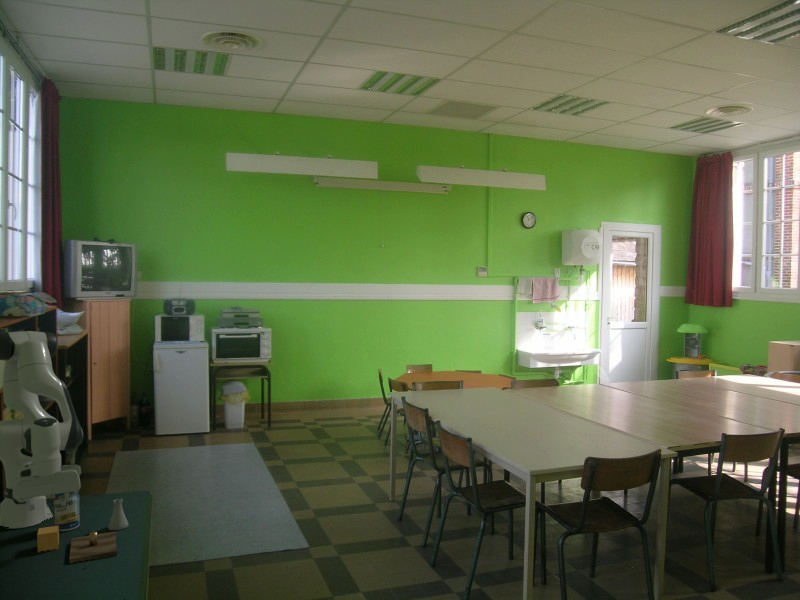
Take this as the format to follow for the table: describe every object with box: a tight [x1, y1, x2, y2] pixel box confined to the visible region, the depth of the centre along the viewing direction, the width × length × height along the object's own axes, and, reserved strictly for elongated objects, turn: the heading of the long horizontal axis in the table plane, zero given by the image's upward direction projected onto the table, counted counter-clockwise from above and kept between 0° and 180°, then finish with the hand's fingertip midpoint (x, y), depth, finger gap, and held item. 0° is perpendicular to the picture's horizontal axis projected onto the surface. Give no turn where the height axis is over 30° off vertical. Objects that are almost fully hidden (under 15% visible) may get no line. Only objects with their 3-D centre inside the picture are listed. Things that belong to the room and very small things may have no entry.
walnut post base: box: [68, 531, 118, 564], centre depth 219 cm, size 18×14×6 cm
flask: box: [107, 498, 130, 531], centre depth 238 cm, size 7×7×10 cm
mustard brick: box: [36, 525, 60, 553], centre depth 221 cm, size 6×6×6 cm
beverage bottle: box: [53, 489, 81, 532], centre depth 238 cm, size 8×8×20 cm
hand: (47, 507), depth 220 cm, fingers open, 8 cm apart
